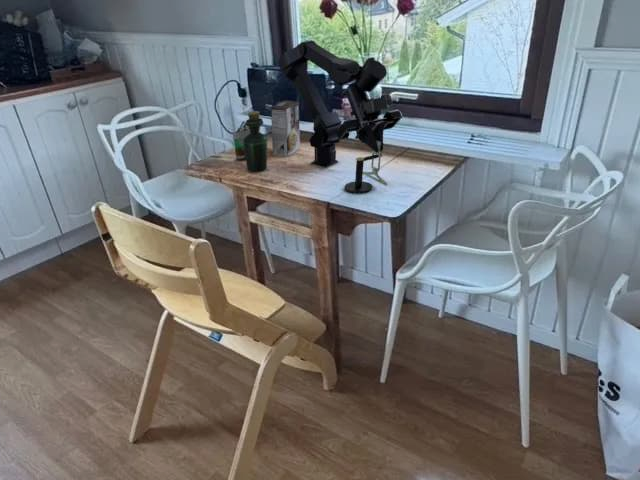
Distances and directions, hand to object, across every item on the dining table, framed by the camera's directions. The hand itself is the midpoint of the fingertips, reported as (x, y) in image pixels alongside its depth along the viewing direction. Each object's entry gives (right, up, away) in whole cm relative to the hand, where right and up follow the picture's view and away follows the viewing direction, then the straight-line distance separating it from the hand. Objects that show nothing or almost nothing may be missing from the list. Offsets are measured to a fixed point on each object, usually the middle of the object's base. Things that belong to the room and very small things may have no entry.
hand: (379, 151), depth 147 cm
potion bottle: (-34, +4, +27) cm, 43 cm away
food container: (-36, +12, +38) cm, 54 cm away
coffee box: (-22, +14, +38) cm, 46 cm away
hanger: (0, -6, +6) cm, 9 cm away
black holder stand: (-3, -8, +6) cm, 11 cm away
